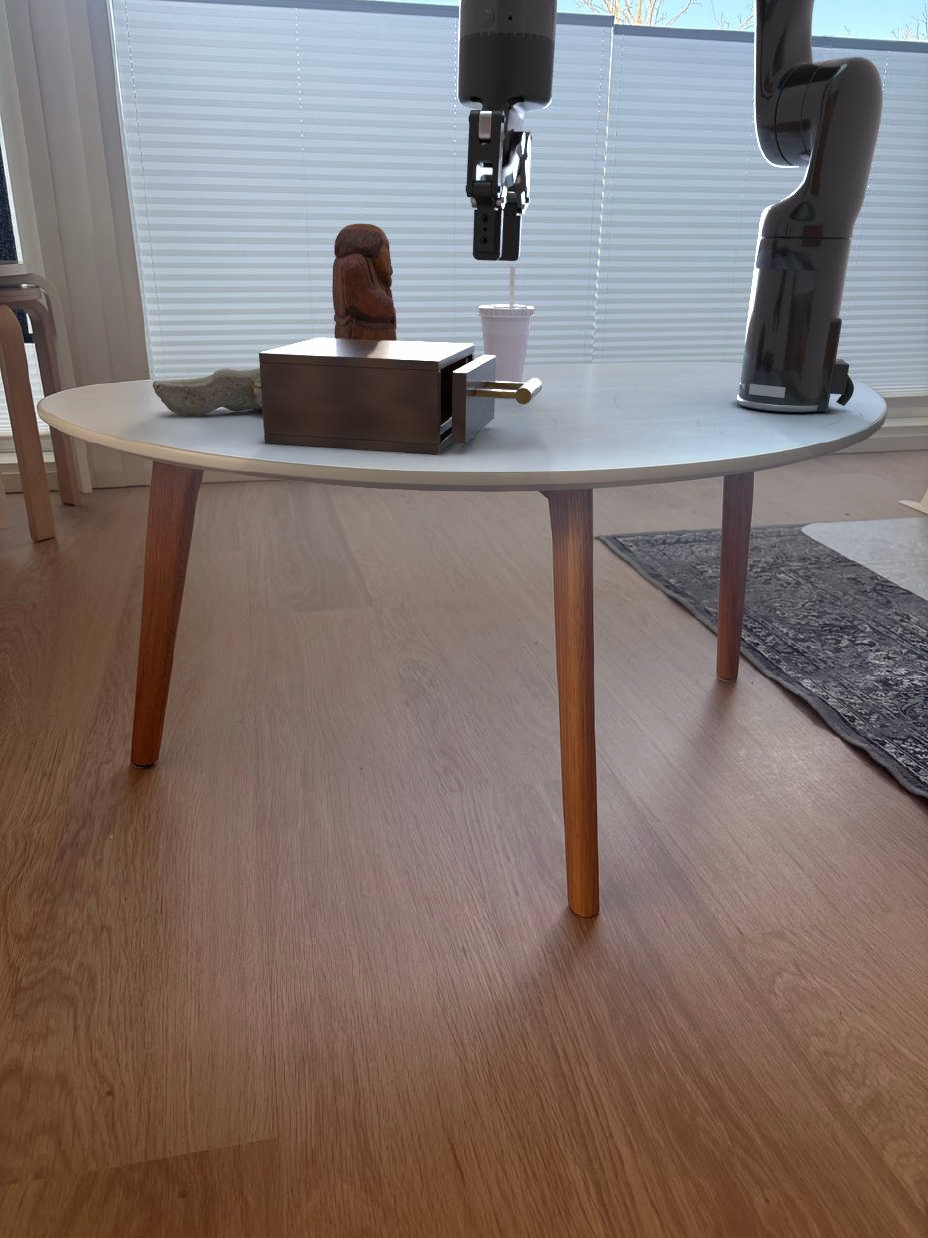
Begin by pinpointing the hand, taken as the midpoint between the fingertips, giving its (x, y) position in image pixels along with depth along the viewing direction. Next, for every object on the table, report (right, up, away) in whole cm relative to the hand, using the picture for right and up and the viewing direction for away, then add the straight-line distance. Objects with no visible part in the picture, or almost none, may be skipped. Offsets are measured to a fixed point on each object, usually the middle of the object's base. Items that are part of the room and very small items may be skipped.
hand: (497, 260), depth 78 cm
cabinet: (-11, -13, +7) cm, 19 cm away
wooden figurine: (-14, -6, +26) cm, 30 cm away
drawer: (-6, -13, +6) cm, 15 cm away
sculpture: (-26, -9, +16) cm, 32 cm away
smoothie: (+2, -4, +30) cm, 31 cm away
